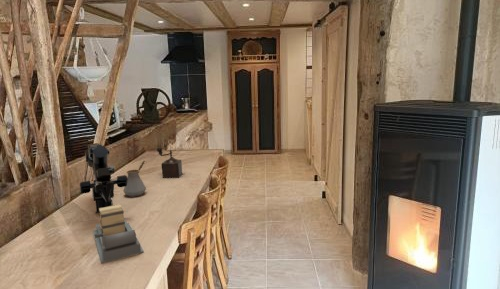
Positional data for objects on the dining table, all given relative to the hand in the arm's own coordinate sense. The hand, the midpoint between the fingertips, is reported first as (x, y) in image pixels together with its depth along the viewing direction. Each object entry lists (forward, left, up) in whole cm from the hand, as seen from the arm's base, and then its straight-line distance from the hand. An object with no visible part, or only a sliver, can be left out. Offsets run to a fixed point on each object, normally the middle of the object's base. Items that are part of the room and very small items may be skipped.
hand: (107, 201), depth 148 cm
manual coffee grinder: (+19, +73, -11) cm, 76 cm away
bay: (+6, -17, -11) cm, 20 cm away
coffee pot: (+5, +45, -11) cm, 46 cm away
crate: (+3, -9, -10) cm, 14 cm away
